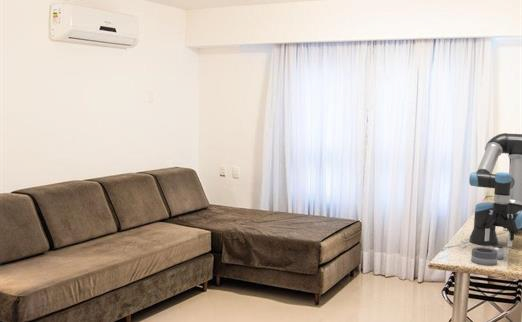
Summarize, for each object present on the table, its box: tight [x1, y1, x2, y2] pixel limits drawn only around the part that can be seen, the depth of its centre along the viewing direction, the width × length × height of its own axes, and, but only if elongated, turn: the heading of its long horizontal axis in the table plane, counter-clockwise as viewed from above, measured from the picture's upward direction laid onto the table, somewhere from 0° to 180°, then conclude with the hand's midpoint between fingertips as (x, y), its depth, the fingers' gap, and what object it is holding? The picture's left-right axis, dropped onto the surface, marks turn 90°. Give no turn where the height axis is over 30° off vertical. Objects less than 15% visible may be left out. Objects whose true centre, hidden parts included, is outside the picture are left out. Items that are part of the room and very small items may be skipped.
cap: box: [490, 244, 505, 261], centre depth 301 cm, size 6×6×6 cm
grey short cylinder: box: [470, 246, 498, 267], centre depth 292 cm, size 12×12×6 cm
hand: (497, 243), depth 300 cm, fingers open, 13 cm apart
